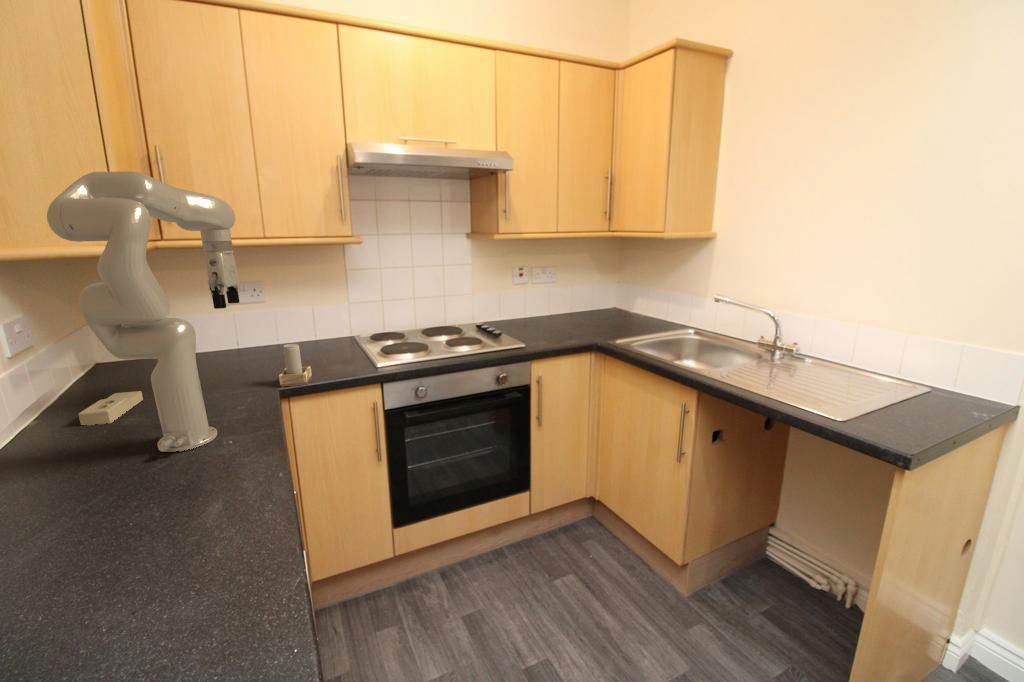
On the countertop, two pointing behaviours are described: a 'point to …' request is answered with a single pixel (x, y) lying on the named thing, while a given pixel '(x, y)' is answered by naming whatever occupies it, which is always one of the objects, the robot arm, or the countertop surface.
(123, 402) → the electrical outlet
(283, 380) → the can holder block
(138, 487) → the countertop surface
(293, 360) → the beverage can
